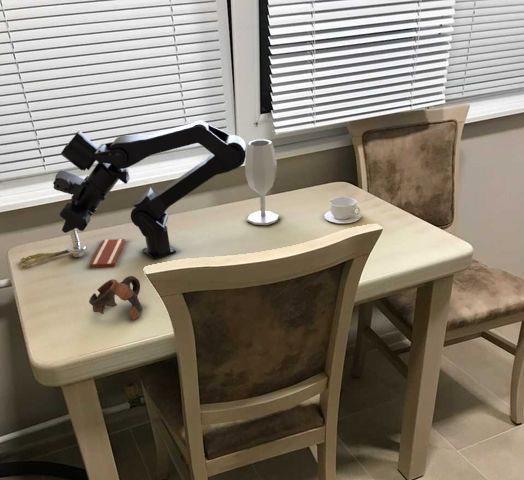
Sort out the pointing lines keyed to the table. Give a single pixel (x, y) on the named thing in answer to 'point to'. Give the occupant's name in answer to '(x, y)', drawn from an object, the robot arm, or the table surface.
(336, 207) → the teacup
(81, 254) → the screw
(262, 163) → the wineglass
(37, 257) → the tongs
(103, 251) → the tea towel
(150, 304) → the table surface
